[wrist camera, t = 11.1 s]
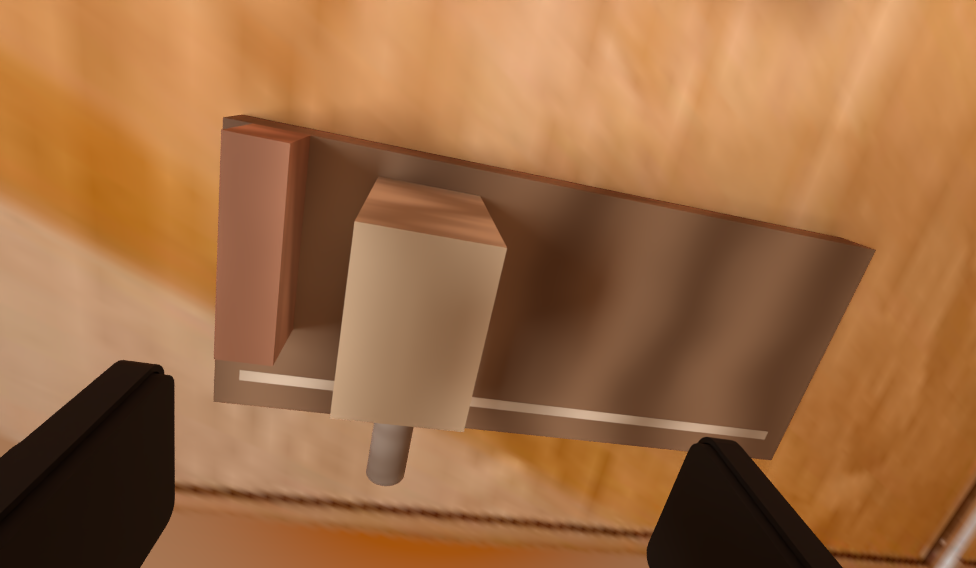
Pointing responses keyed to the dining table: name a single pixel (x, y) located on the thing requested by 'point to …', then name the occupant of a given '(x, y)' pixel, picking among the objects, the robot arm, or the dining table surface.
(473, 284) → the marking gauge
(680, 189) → the dining table surface
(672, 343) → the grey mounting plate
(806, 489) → the dining table surface
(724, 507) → the robot arm
